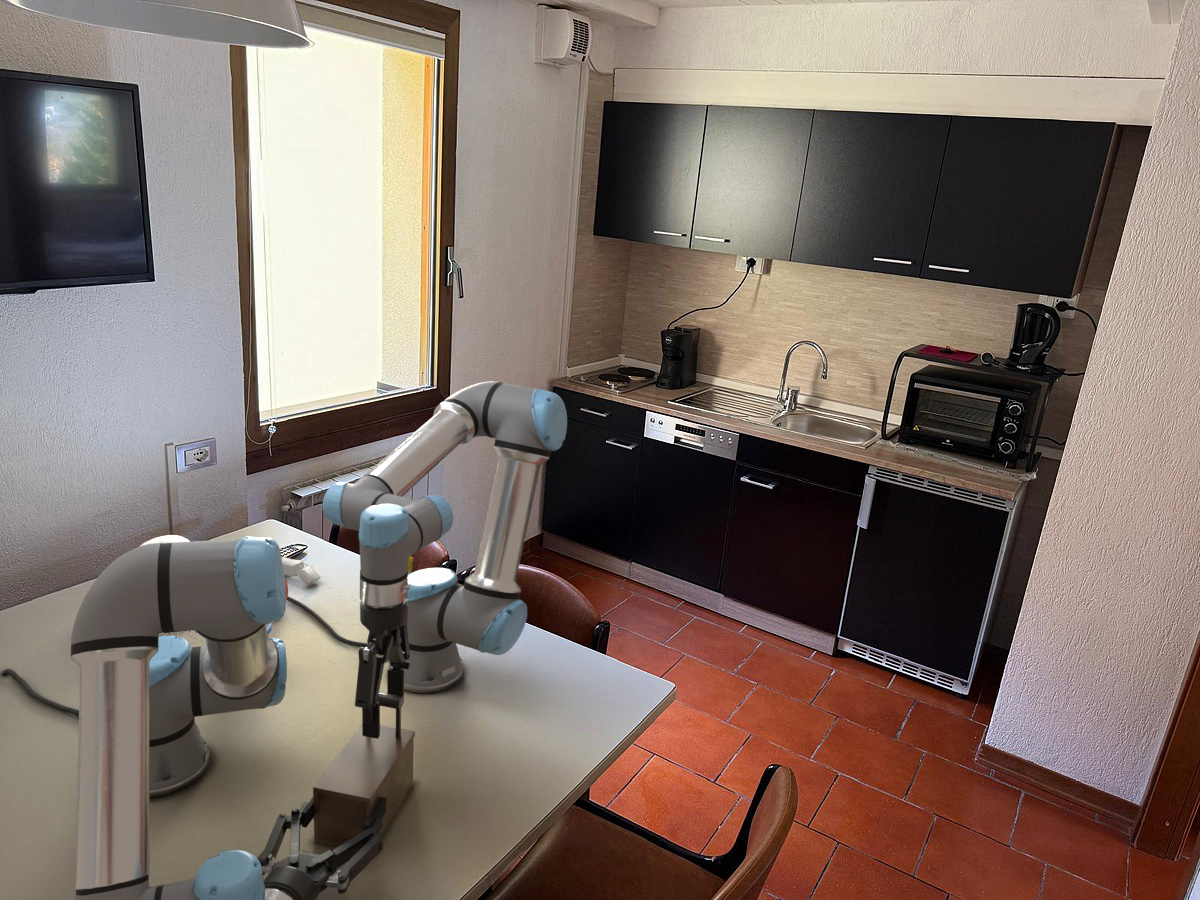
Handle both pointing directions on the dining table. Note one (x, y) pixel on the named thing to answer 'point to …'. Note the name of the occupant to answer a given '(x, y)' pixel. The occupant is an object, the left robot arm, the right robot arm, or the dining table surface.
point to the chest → (361, 806)
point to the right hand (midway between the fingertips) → (383, 718)
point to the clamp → (300, 571)
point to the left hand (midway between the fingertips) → (353, 798)
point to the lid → (367, 759)
